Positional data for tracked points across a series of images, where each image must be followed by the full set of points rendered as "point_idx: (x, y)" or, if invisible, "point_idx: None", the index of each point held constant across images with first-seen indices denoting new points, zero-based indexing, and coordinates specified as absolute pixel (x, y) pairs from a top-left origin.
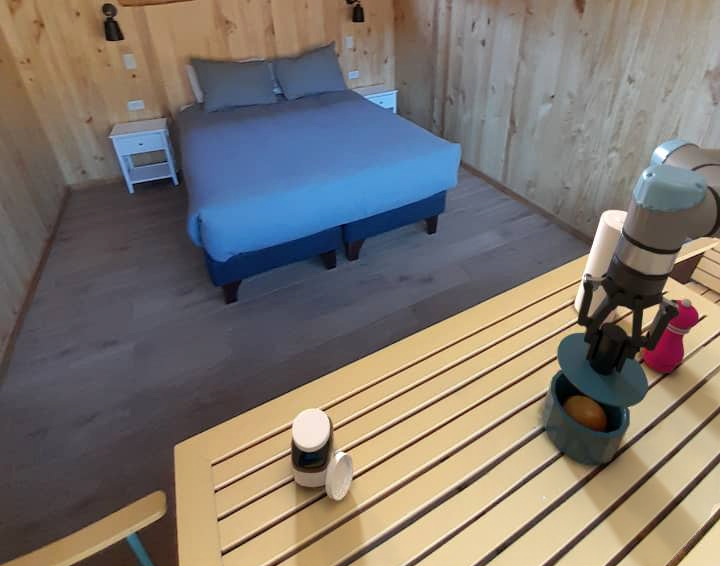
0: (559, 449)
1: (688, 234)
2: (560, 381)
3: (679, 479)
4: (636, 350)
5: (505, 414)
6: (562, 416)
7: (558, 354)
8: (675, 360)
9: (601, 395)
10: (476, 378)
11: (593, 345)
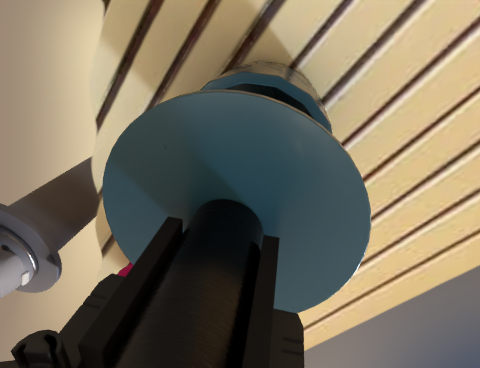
0: (296, 71)
1: None
2: None
3: (123, 100)
4: (36, 345)
5: (398, 103)
6: (311, 96)
7: (366, 235)
8: (122, 273)
9: (229, 116)
10: (455, 159)
11: (261, 308)
